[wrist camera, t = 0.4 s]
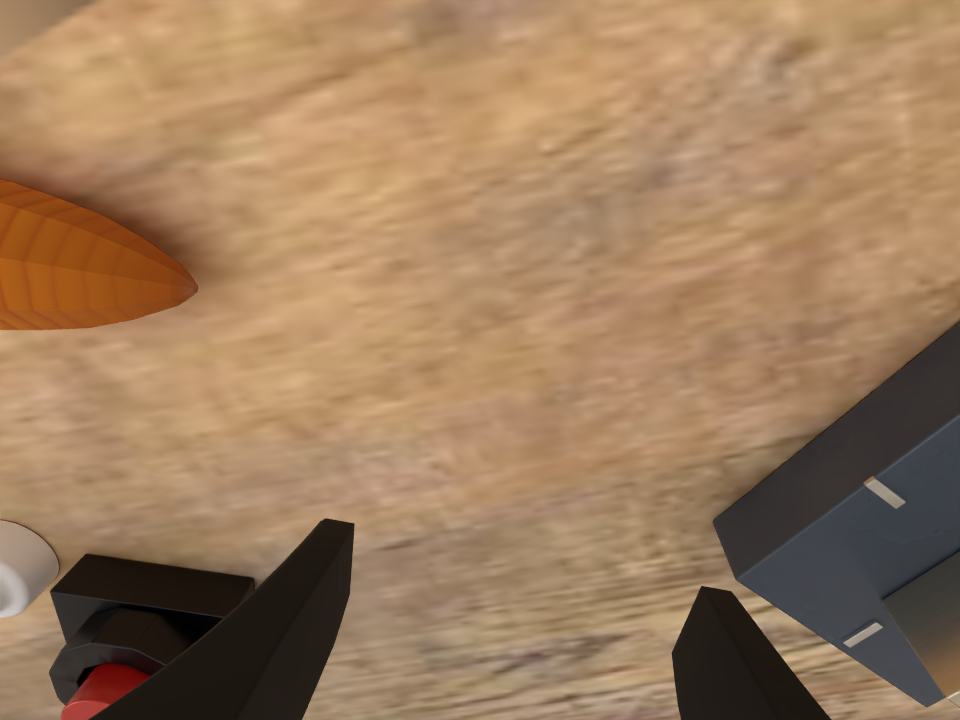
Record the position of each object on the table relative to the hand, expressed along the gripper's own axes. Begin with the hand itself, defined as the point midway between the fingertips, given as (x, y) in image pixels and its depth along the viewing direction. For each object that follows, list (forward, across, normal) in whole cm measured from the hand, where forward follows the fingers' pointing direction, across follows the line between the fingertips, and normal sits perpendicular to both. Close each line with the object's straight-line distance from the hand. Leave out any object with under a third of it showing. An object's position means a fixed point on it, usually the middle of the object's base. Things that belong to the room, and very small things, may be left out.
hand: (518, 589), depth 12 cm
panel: (+10, -15, +2) cm, 18 cm away
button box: (+10, +14, +18) cm, 25 cm away
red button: (+6, +14, +16) cm, 22 cm away
